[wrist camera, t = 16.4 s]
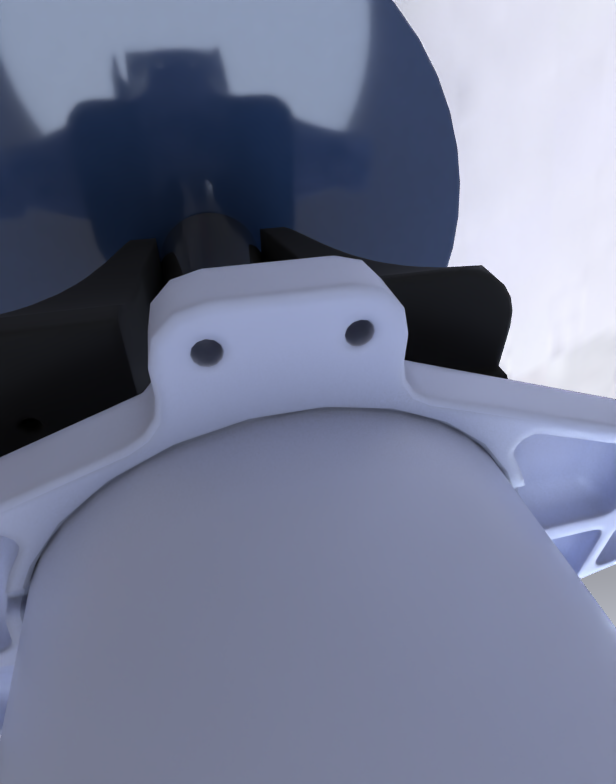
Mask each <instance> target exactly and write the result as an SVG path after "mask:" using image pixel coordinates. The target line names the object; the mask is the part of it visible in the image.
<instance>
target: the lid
mask: <svg viewBox="0 0 616 784" xmlns="http://www.w3.org/2000/svg"><path fill="white" fill-rule="evenodd" d="M459 190H460V179H459V165H458V152H457V145H456V140H455V135H454V130H453V125H452V120H451V115H450V111H449V108H448V105H447V102H446V99H445V96H444V93H443V90H442V87H441V84H440V82H439V79H438V76H437V73H436V71H435V69H434V67H433V65H432V63H431V61H430V60H429V58H428V56H427V54H426V52H425V50H424V48H423V46H422V44H421V42H420V40H419V38H418V36H417V35H416V33H415V32H414V31H413V29H412V28H411V26H410V25H409V23H408V22H407V20H406V19H405V17H404V16H403V15H402V13H401V12H400V10H399V9H398V7H397V6H396V4H395V3H394V2H393V1H392V0H0V314H3V313H7V312H11V311H15V310H18V309H21V308H24V307H27V306H30V305H33V304H35V303H38V302H40V301H43V300H45V299H47V298H50V297H52V296H55V295H57V294H59V293H61V292H63V291H65V290H67V289H69V288H70V287H72V286H74V285H76V284H77V283H79V282H80V281H82V280H83V279H85V278H86V277H88V276H89V275H90V274H92V273H93V272H94V271H95V270H97V269H98V268H99V267H101V266H102V265H103V264H104V263H105V262H107V261H108V260H109V259H110V258H111V257H112V256H113V255H114V254H115V253H116V252H117V251H118V250H119V249H121V248H122V247H123V246H124V245H125V244H126V243H127V242H128V241H130V240H140V239H151V238H156V242H157V247H158V253H159V258H160V263H161V278H162V289H163V288H164V286H165V285H166V284H167V283H168V282H169V280H171V279H174V278H177V277H179V276H182V275H185V274H188V273H191V272H193V271H196V270H199V269H204V268H214V267H224V266H234V265H244V264H254V263H264V262H265V261H264V258H263V256H262V254H261V239H260V229H266V228H277V227H286V228H289V229H292V230H294V231H297V232H299V233H301V234H303V235H305V236H307V237H309V238H311V239H314V240H316V241H318V242H320V243H322V244H325V245H327V246H329V247H332V248H334V249H337V250H340V251H342V252H345V253H348V254H351V255H354V256H357V257H361V258H365V259H369V260H373V261H378V262H383V263H390V264H397V265H404V266H416V267H447V266H448V262H449V259H450V256H451V252H452V249H453V244H454V238H455V232H456V226H457V220H458V210H459Z"/></svg>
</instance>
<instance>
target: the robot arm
mask: <svg viewBox="0 0 616 784" xmlns="http://www.w3.org/2000/svg"><path fill="white" fill-rule="evenodd" d="M260 239H261V254H262V256H263V258H264V261H265V262H264V263H254V264H244V265H234V266H224V267H214V268H204V269H199V270H196V271H193V272H191V273H188V274H185V275H182V276H179V277H177V278H174V279H171V280H169V282H168V283H167V284H166V285H165V286H164V288H163V289H162V278H161V263H160V258H159V253H158V247H157V242H156V238H151V239H140V240H130V241H128V242H127V243H126V244H125V245H124V246H123V247H122V248H121V249H119V250H118V251H117V252H116V253H115V254H114V255H113V256H112V257H111V258H110V259H109V260H108V261H107V262H105V263H104V264H103V265H102V266H101V267H99V268H98V269H97V270H95V271H94V272H93V273H92V274H90V275H89V276H88V277H86V278H85V279H83V280H82V281H80V282H79V283H77V284H76V285H74V286H72V287H70V288H69V289H67V290H65V291H63V292H61V293H59V294H57V295H55V296H52V297H50V298H47V299H45V300H43V301H40V302H38V303H35V304H33V305H30V306H27V307H24V308H21V309H18V310H15V311H11V312H7V313H3V314H0V735H1V737H0V784H616V627H615V626H614V624H613V623H612V622H611V620H610V619H609V618H608V616H607V615H606V613H605V612H604V611H603V609H602V608H601V607H600V605H599V604H598V603H597V601H596V600H595V598H594V597H593V596H592V594H591V593H590V592H589V590H588V589H587V588H586V586H585V585H584V584H583V582H582V581H581V578H583V577H586V576H588V575H590V574H593V573H595V572H597V571H600V570H602V569H605V568H607V567H609V566H612V565H614V564H616V399H612V398H607V397H601V396H596V395H591V394H585V393H580V392H574V391H569V390H564V389H558V388H553V387H547V386H542V385H536V384H531V383H526V382H520V381H515V380H509V379H508V378H507V375H506V374H505V373H504V372H503V370H502V369H501V368H500V367H499V362H500V359H501V355H502V352H503V349H504V345H505V342H506V338H507V335H508V331H509V328H510V323H511V317H512V304H511V297H510V295H509V293H508V291H507V289H506V287H505V285H504V284H503V283H502V282H500V281H499V280H498V279H497V278H496V277H495V276H493V275H492V274H491V273H490V272H489V271H488V270H487V269H485V268H484V267H483V266H482V265H480V266H461V267H416V266H404V265H397V264H390V263H383V262H378V261H373V260H369V259H365V258H361V257H357V256H354V255H351V254H348V253H345V252H342V251H340V250H337V249H334V248H332V247H329V246H327V245H325V244H322V243H320V242H318V241H316V240H314V239H311V238H309V237H307V236H305V235H303V234H301V233H299V232H297V231H294V230H292V229H289V228H286V227H277V228H266V229H260Z"/></svg>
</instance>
